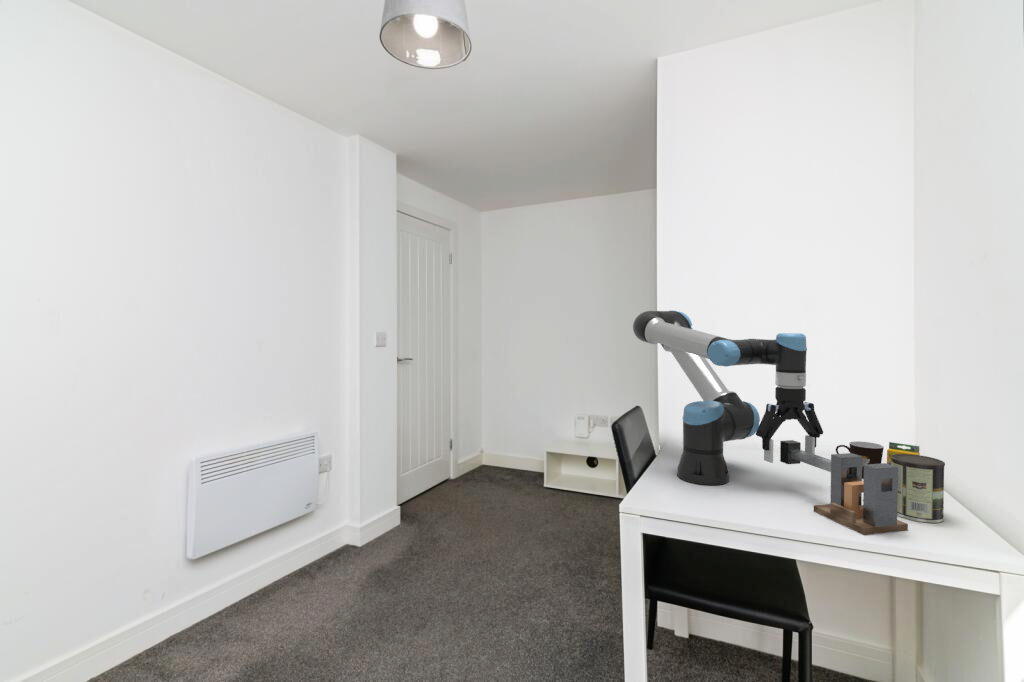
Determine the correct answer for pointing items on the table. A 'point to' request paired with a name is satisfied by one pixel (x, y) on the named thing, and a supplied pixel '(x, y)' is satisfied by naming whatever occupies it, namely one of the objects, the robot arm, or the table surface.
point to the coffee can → (920, 487)
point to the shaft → (802, 456)
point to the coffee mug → (865, 452)
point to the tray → (855, 520)
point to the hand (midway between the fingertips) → (789, 460)
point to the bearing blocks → (867, 487)
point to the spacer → (853, 497)
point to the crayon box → (901, 450)
